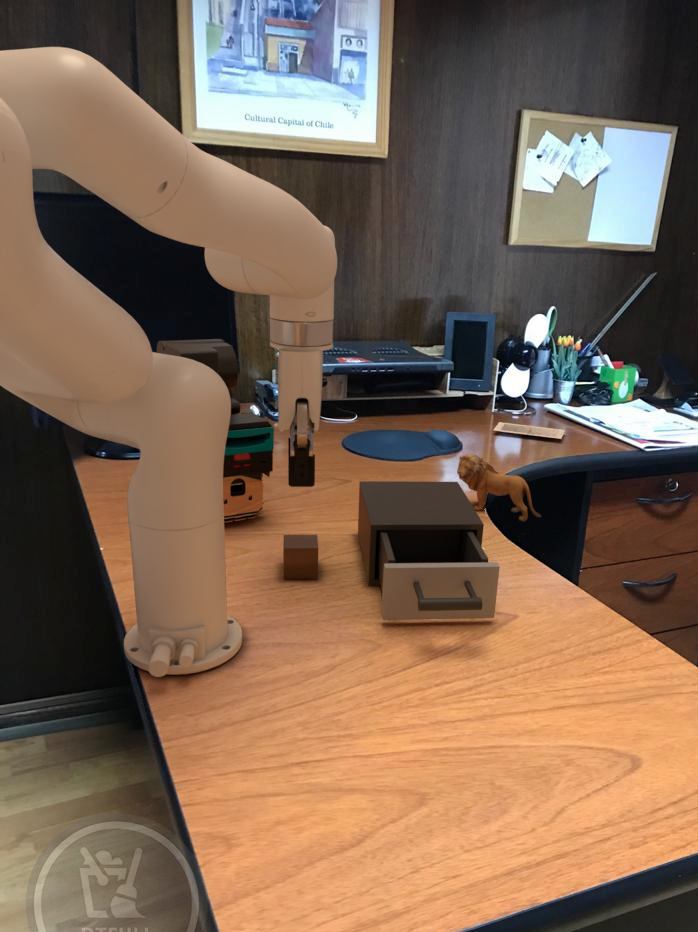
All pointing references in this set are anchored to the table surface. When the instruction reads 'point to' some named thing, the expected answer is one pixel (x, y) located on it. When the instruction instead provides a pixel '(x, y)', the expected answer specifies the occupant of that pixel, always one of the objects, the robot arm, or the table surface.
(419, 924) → the table surface
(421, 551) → the drawer
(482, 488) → the lion figurine
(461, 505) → the cabinet
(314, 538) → the block
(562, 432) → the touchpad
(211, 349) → the bill acceptor
